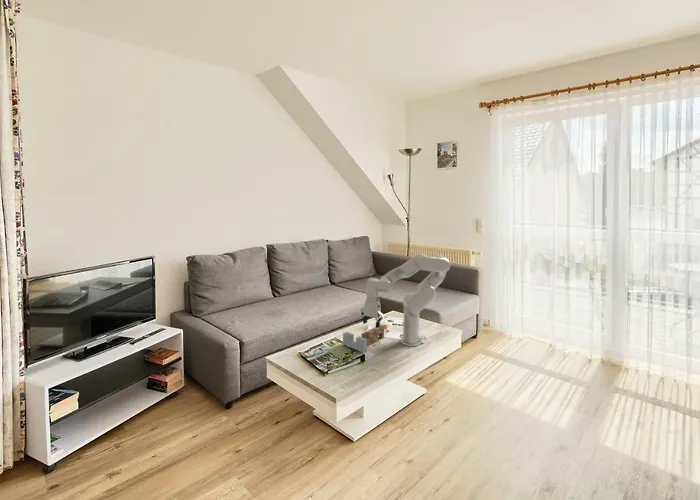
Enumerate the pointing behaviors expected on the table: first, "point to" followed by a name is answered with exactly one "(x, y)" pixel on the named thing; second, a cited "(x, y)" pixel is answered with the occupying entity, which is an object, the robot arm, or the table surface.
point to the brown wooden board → (373, 334)
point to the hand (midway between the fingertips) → (371, 325)
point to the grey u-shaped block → (358, 345)
